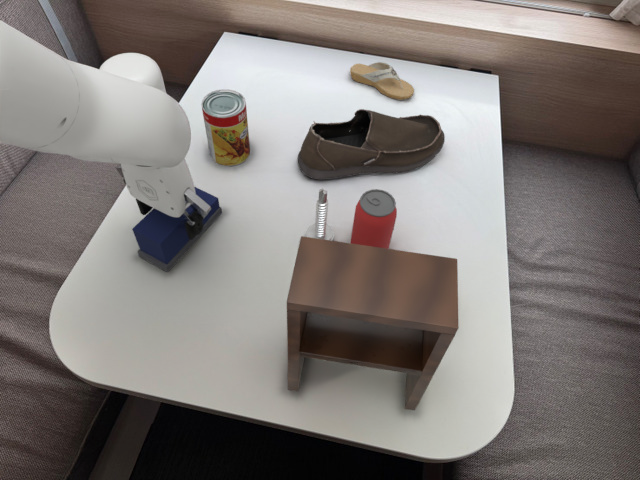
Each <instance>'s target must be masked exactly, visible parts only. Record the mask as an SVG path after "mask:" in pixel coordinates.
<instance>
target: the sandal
mask: <svg viewBox="0 0 640 480" xmlns="http://www.w3.org/2000/svg"><path fill="white" fill-rule="evenodd" d="M349 73H350V77H351V78H352V80H353V81H354V82H357V83H360V84H364V85H368V86H370V87H371V86H372V87H373V88H376V89H377V91H378V92H380V93H381V94H382V95H384V96H386V97H387V98H390V99H394V100H397V101H398V100H399V101H400V100H401V101H402V100H407V99H410V98H411V97H412V96H413V95H414V92H415V88H414V87H413V85H412V84H411V83H409V82H408V81H406V80H404V79H402V78H401V77H400V76H399V73H398V72H397V70H396V69H394V67H393V66H392V65H390V64H388V62H383V61H377V62H374V63H371V64H368V65H366V64H364V63H355V64H353V65H352V66H351V67H350V70H349Z"/></svg>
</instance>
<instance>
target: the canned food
mask: <svg viewBox="0 0 640 480" xmlns="http://www.w3.org/2000/svg"><path fill="white" fill-rule="evenodd" d="M200 106H201V110H202V117H203V123H204V128H205V134H206V140H207V141H206V142H207V147H208V153H209V158H210V159H211V160H212V162H214V163H215V164H217V165H219V166H221V167H222V166H223V167H235V166H239V165H241V164H243V163H244V162H246V161H247V160H248V158H249V157H250V155H251V154H250V153H251V147H250V135H249V123H248V121H249V120H248V113H247V111H248V109H247V101H246V98H245V97H244V95H243V94H242V93H240V92H238V91H236V90H233V89H225V88H223V89H222V88H221V89H216V90H212V91H210V92H209V93H207V94H206V95H204V97H203V98H202V100H201V104H200Z"/></svg>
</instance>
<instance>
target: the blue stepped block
mask: <svg viewBox="0 0 640 480" xmlns="http://www.w3.org/2000/svg"><path fill="white" fill-rule="evenodd" d="M194 187H195V192H196V195H197V196H199V197H200V198H201V199H202V200H203V201H205V202H206V203H207V204H208V205H209V206H210V207H211V210H210V212H209V213H208V215H207V216H206V217H205V218H204V219H203V220H202V222H203V230H202V232H201V233H200V234H199V235H196V236H195V238H194V239H193V240H191V239H189V238H188V235H187V231H186V228H185V222H186V220H185V219H184V218H183V217H182V216H180V217H172V216H169V215H167V214H165V213H163V212H161V211H159V210H157V209H155V208H152V209H151V210H150V211H149V212H148V213H147V214H146V215H144V217H143V218H142V219H141V220H140V221H138V223H137V224H136V225H135V226H133V228H131V230H132V233H133V235H134V238H135V241H136V243H137V245H138V248H139V249H138V250H137V252H136V253H137V254H138V257H139V258H141V259H142V260H145V261H146V262H148V263H150V264H152V265H153V266H155V267H157V268H159V269H161V270H163V271H164V272H166V273H169V272H170V271H171V269H172V268H173V267H174V266H175V265H176V264H177V263H178V262H179V261H180V260H181V259H182V257H183V256H184V255H185V254H186V253H187V252H188V251H189V250H190V249H191V247H192V246H193V245H194V244H195V243H196V242H197V241H198V240H199V239H200V238H201V237H202V235H203V234H204V233H205V232H206V231H207V230H208V229H210V227H211V226H212V225H213V224H214V223H215V221H216V220H217V219H218V218H219V217H220V216H221V215H222V214H223V208H222V207H221V206H220V201H219V197H217V196H215V195H213V194H211V193H209V192H206V191H204V190H203V189H200V188H199V187H196V186H194ZM185 201H186V200H185ZM186 212H187V213H188V214H189V215H191V214H192V213H193V212H194V210H193V209H192V208H191V206H189V207H188V208H187V209H186Z"/></svg>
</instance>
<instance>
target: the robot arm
mask: <svg viewBox="0 0 640 480" xmlns="http://www.w3.org/2000/svg"><path fill="white" fill-rule="evenodd" d="M166 90H167V89H166V87H165V82H164V78H163V74H162V70H161V68H160V66H159V65H158V63H157V62H156V61H155V60H154V59H153V58H152V57H150V56H148V55H145V54H142V53H138V52H123V53H119V54H116V55H113V56H111V57H109V58H108V59H106V60H105V61H103V63H102V64H101V65H100V67H99V68H96V67H93V66H90V65H87V64H83V63H80V62H76V61H72V60H69V59H68V58H65V57H64V56H62V55H60V54H58V53H57V52H55V51H53V50H52V49H49V48H48V47H46V46H44V45H43V44H41V43H39V42H38V41H36V40H35V39H33V38H31V37H30V36H28V35H26V34H25V33H23V32H21V31H20V30H18V29H16V28H14V27H13V26H11V25H10V24H8V23H6V22H5V21H3V20H2V19H0V144H3V145H7V146H12V147H16V148H20V149H26V150H28V151H29V150H30V151H33V152H39V153H45V154H54V155H59V156H60V155H61V156H70V157H71V158H74V159H76V160H79V161H84V162H91V163H102V164H114V165H116V164H117V166H116V167H115V170H116V171H117V172H118V174H119V175H120V176H121V178H123V180H122V181H123V183H124V184H125V185H126V187H127V191H128V193H129V194H130V195H131V196H132V197H133V198H134V199H135V201H136V204H137V207H138V209H139V213H140V215H142V216H146V215H147V214H148V213H149V212H150V211H151V210H152V209H153V208H155V209H157V210H159V211H161V212H163V213H165V214H167V215H169V216H172V217H180V216H182V217H183V218H184V219H185V220H186V222H185V228H186V231H187V235H188V238H189V239H191V240H193V239H194V238H195V236H196V235H199V234H200V233H201V232H202V230H203V222H202V220H203V219H204V218H205V217H206V216H207V215H208V213H209V212H210V210H211V207H210V206H209V205H208V204H207V203H206V202H205V201H203V200H202V199H201V198H200V197H199V196H197V195H196V192H195V187H196V186H195V184H194V180H193V176H192V174H191V171H190V168H189V165H188V163H187V161H186V159H185V158H186V157H187V155H188V153H189V150H190V147H191V140H192V129H191V125H190V121H189V117H188V115H187V113H186V111H185V109H184V108H183V106H182V105H181V104H180V103H179V102H178V101H177V100H176V99H175V98H173V97H172V96H170V95H169V94H168V93H167V91H166ZM185 200H186V201H185ZM189 206H191V208H192V209H193V210H194V212H193V213H192V214H191V215H189V214H188V213H187V212H186V209H187V208H188V207H189Z"/></svg>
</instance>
